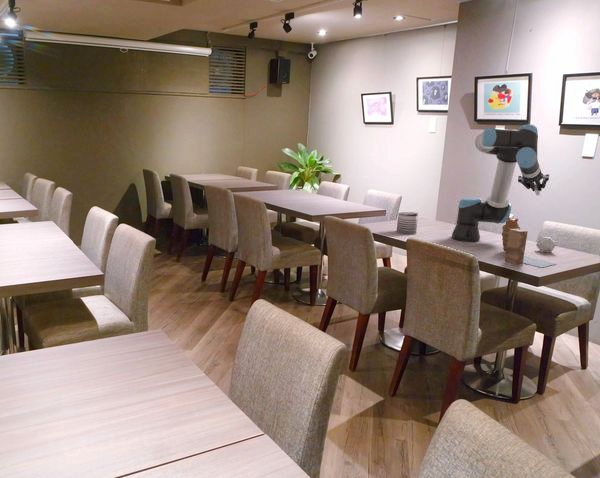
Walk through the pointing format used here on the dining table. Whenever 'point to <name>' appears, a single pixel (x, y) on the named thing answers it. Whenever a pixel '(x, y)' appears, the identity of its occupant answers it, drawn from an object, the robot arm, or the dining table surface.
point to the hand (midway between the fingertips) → (538, 192)
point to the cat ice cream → (509, 225)
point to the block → (516, 246)
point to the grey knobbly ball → (546, 244)
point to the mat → (537, 262)
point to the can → (407, 223)
